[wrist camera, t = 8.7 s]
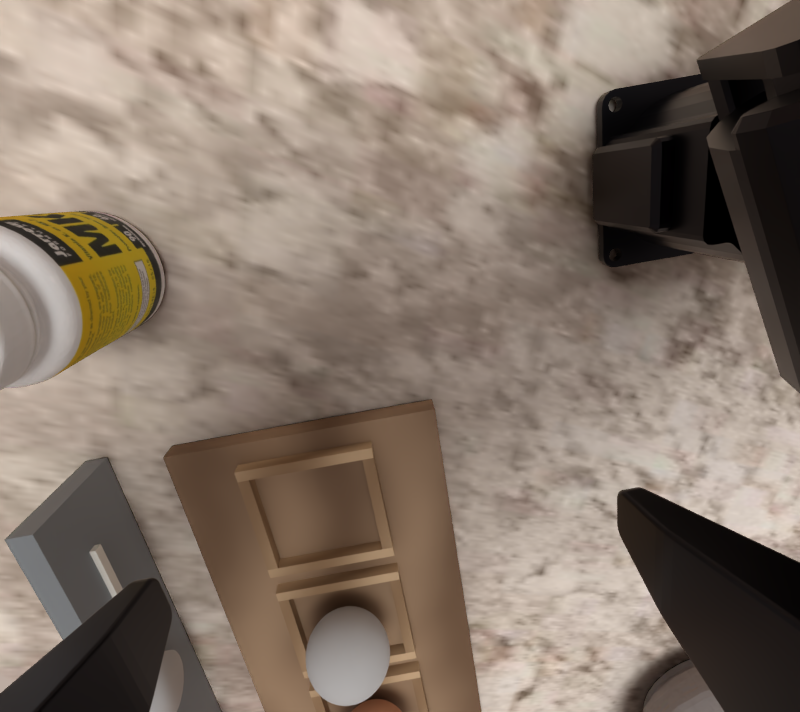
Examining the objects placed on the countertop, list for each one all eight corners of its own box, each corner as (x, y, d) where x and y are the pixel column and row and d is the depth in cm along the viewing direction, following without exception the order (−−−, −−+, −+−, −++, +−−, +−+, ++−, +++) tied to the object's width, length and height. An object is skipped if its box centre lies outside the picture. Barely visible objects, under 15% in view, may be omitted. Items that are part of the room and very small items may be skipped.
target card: (113, 456, 21) (40, 533, 16) (247, 757, 29) (224, 868, 24) (85, 461, 21) (4, 539, 16) (226, 761, 29) (199, 873, 24)
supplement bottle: (172, 225, 18) (19, 255, 10) (164, 339, 19) (26, 443, 12) (38, 196, 17) (-239, 203, 9) (41, 316, 19) (-196, 410, 11)
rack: (431, 399, 21) (436, 415, 20) (480, 714, 29) (487, 743, 27) (172, 445, 21) (157, 465, 20) (290, 749, 29) (286, 780, 27)
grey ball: (380, 581, 23) (383, 656, 20) (394, 637, 25) (398, 718, 21) (302, 595, 23) (290, 673, 20) (320, 651, 25) (311, 734, 21)
